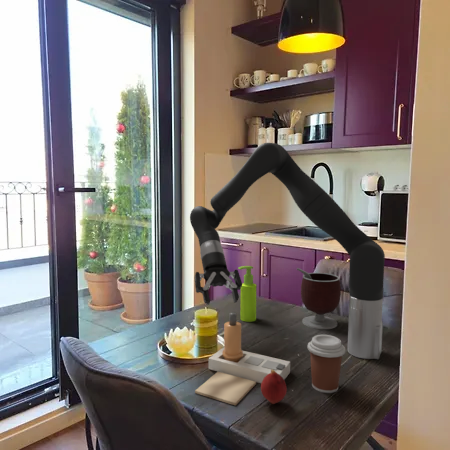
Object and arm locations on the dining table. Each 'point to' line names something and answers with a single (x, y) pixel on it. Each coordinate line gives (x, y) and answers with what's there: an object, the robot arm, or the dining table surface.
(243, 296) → the soap dispenser
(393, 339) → the dining table surface
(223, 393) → the cork mat
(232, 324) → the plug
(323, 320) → the mate gourd
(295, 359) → the dining table surface
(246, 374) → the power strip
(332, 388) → the coffee cup
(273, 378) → the onion
